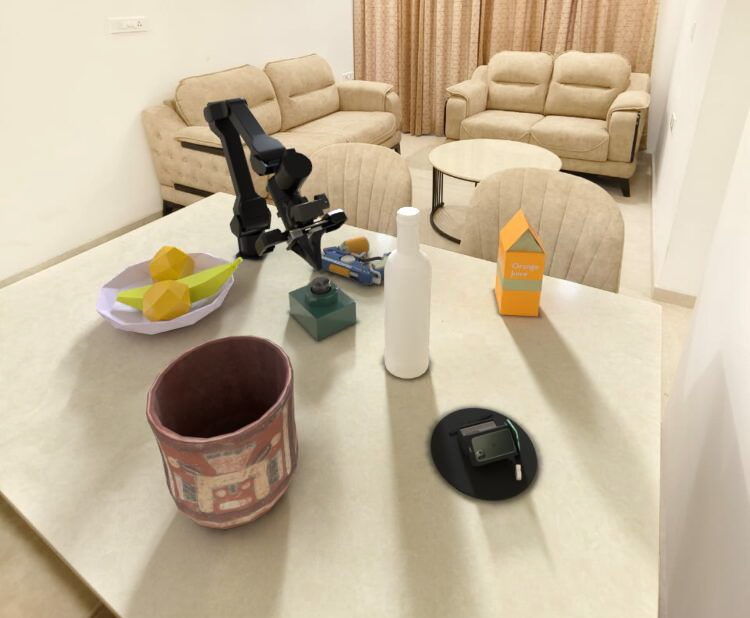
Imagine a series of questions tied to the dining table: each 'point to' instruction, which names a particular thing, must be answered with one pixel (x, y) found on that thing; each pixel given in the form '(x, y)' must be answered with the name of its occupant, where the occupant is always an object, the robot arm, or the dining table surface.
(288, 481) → the pottery
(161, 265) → the fruit bowl
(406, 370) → the bottle
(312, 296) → the button housing
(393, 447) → the dining table surface
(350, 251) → the blue toy blaster
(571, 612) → the dining table surface
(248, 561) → the dining table surface
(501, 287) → the orange juice
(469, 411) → the black round electronic device
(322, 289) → the dark grey button cap
